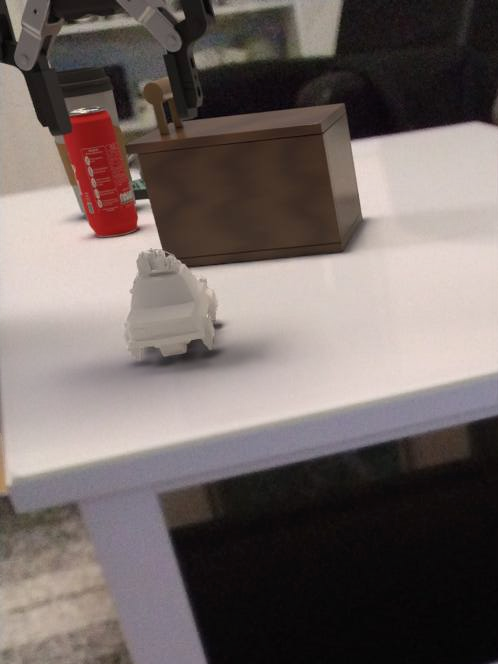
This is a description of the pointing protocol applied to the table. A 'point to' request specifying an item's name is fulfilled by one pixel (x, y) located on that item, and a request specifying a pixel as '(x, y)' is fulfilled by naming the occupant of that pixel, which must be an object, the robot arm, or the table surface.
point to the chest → (255, 197)
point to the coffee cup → (89, 92)
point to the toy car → (168, 306)
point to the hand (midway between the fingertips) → (125, 126)
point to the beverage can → (100, 172)
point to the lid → (226, 124)
